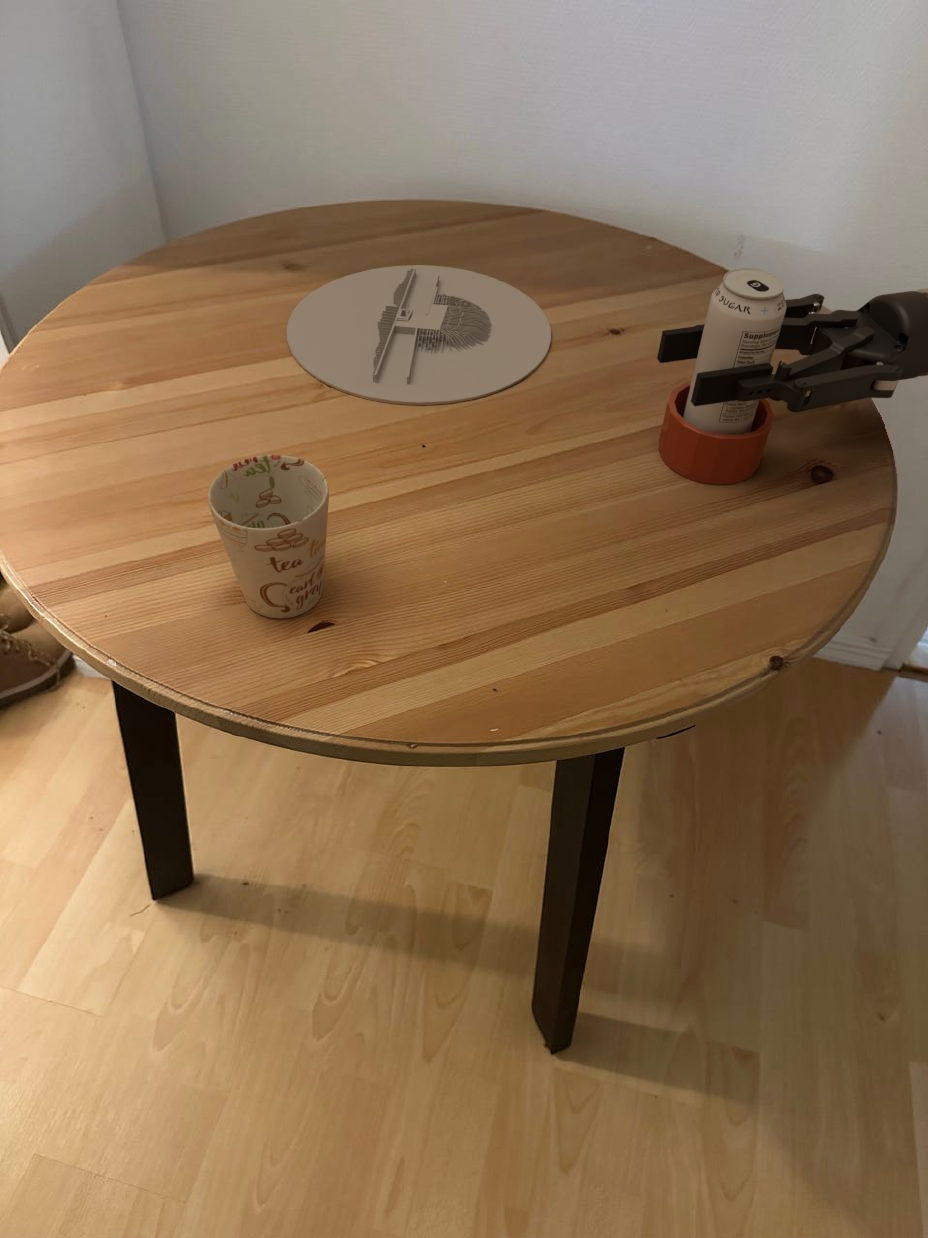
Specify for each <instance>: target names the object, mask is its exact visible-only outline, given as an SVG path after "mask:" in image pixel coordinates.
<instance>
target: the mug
mask: <svg viewBox="0 0 928 1238" xmlns="http://www.w3.org/2000/svg"><path fill="white" fill-rule="evenodd" d="M329 500H330V489H329V484H328V481H327V479H326V477H325V475H324V474H323V472H322V471H321V470H320V469H319V468H318V467H317V466H315V465H313V464H312V463H310V462H309V461H307V460H305V459H302V458H298V457H295V456H290V455H283V454H266V455H264V454H263V455H257V456H252V457H249V458H245V459H243V460H240V461H238V462H235V463H233V464H231V465H230V466H228V467H226V468H225V469H224V470H222V471H221V472H220V473H219V474H218V475H217V476H216V477H215V478H214V480H213V481H212V482H211V484H210V486H209V489H208V494H207V502H208V506H209V510H210V513H211V516H212V519H213V522H214V523H215V526H216V529H217V532H218V534H219V537H220V539H221V541H222V542H221V543H222V544H223V547H224V549H225V551H226V554H227V557H228V560H229V563H230V565H231V567H232V569H233V572H234V575H235V578H236V580H237V584H238V585H239V588H240V591H241V593H242V596H243V598H244V601H245V602H246V604H247V606H248V607H249V608H250V609H251V610H252V611H253V612H254V613H256V614H258V615H261V616H263V617H265V618H269V619H270V618H271V619H280V620H281V619H289V618H294V617H295V618H296V617H297V616H300V615H303V614H304V613H306V612H308V611H310V610H311V609H312V608H314V606H316V604H317V603H318V602H319V601H320V599H321V596H322V594H323V590H324V577H325V562H326V561H325V560H326V547H327V533H328V518H329V517H328V516H329V502H330V501H329Z"/></svg>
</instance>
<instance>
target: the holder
mask: <svg viewBox="0 0 928 1238" xmlns="http://www.w3.org/2000/svg"><path fill="white" fill-rule="evenodd" d="M691 382H692V380H690V381H687V382H683V383H682V384H680V385H679V386H678V387H676V388H674V389H673V390H672V391H671V393H670V395H669V397H668V400H667V403H666V407H665V412H664V417H663V421H662V426H661V430H660V434H659V440H658V452H659V455H660V458H661V459H662V461H663V462H664V464H665V465H666V466H667V467H668V468H669V469H671V470H672V471H673V472H674V473H676V474H678V475H680V476H681V477H684V478H686V479H688V480H691V481H694V482H696V483H701V484H706V485H717V486H721V485H726V486H727V485H733V484H737V483H740V482H743V481H745V480H747V479H749V478H751V477H752V476H753V475H754V474H755V473H756V472H757V471H758V469H759V467H760V463H761V460H762V457H763V454H764V451H765V448H766V445H767V441H768V438H769V435H770V432H771V430H772V425H773V423H774V418H775V412H774V410H773V407H772V405H771V403H770V402H769V401H768V400H767V398H765V399H760V400H759V403H758V406H757V410H756V413H755V417H754V420H753V423H752V427H751V430H750V432H749V433H745V434H742V435H721V434H716V433H712V432H708V431H704V430H701V429H699V428H697V427H696V426H694V425H692V424H690V423H688V422H687V421H686V420H685V419H684V418H683V416H684V412H685V407H686V403H687V399H688V394H689V390H690V386H691Z"/></svg>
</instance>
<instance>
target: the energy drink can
mask: <svg viewBox="0 0 928 1238" xmlns="http://www.w3.org/2000/svg"><path fill="white" fill-rule="evenodd" d="M785 286H786V285H785V282H784V281H783V280H782V278H780V277H779V276H778V275H777V274H774V273H772V272H770V271H767V270H764V269H760V268H755V267H754V268H753V267H739V268H734V269H731V270H729V271H727V272H726V273H725V274H724V275H723V279H722V282H721V283H720V284H719V285H718V286H717V287H716V289H714V291H712V294H711V296H710V300H709V305H708V309H707V312H706V313H707V314H706V318H705V321H704V324H705V326H704V330H703V334H702V339H701V343H700V347H699V351H698V356H697V358H696V361H695V365H694V369H693V373H692V378H691V381H692V382H691V381H690V382H691V386H690V390H689V394H688V399H687V403H686V407H685V412H684V416H683V418H684V419H685V420H686V421H687V422H688V423H690V424H692V425H694V426H696V427H697V428H699V429H701V430H704V431H708V432H712V433H716V434H721V435H742V434H745V433H749V432H750V430H751V427H752V423H753V420H754V417H755V413H756V410H757V406H758V403H759V400H760V399H758V400H757V399H756V400H751V401H738V400H735V401H728V402H722V403H715V404H708V405H702V406H694V405H693V404H692V403H691V398H692V394H693V389H694V385H695V381H696V377H697V373H701V372H708V371H715V370H722V369H729V368H736V367H743V366H750V365H757V364H764V363H770V364H771V362H772V359H773V356H774V352H775V350H776V349H775V346H776V342H777V339H778V336H779V332H780V329H781V326H782V322H783V319H784V316H785V312H786V309H787V307H786V301H785V300H786V297H785V294H784V291H785V288H786V287H785Z"/></svg>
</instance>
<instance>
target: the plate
mask: <svg viewBox="0 0 928 1238" xmlns="http://www.w3.org/2000/svg"><path fill="white" fill-rule="evenodd" d="M286 341H287V342H286V343H287V345H288V346H287V347H288V349H289V351H290V353H291V355H292V357H293V359H294V360H295V362H297V363H298V364H299V366H300V367H301V368H302V369H303V370H305V372H307V373H308V374H310V375H311V376H312V377H313V378H315V379H316V380H318V381H319V382H321V383H323V384H325V385H327V386H329V387H331V388H333V389H335V390H337V391H339V392H342V393H345V394H348V395H350V396H354V397H357V398H361V399H364V400H369V401H375V402H379V403H380V402H381V403H386V404H394V405H403V406H404V405H405V406H406V405H407V406H436V405H437V406H438V405H450V404H456V403H462V402H467V401H468V402H469V401H471V400H476V399H481V398H484V397H487V396H490V395H492V394H495V393H498V392H502V391H503V390H506V389H509V388H511V387H512V386H515V385H516V384H518V383H521V382H522V381H523V380H525V379H526V378H527V377H529V376H530V375H531V374H532V373H534V372H535V371H536V370H537V369H538V368H539V367H540V366H541V364H542V363H543V362H544V361H545V359H546V357H547V355H548V353H549V351H550V346H551V342H552V328H551V324H550V322H549V319H548V318H547V315H546V314H545V312H544V311H543V309H542V308H541V307H540V305H538V304H537V302H535V301H534V300H533V299H532V298H530V297H529V296H528V295H527V294H525V293H524V292H522V291H521V290H519V289H518V288H516V287H514V286H512V285H510V284H509V283H507V282H505V281H502V280H499V279H497V278H495V277H491V276H490V275H486V274H483V273H479V272H477V271H471V270H467V269H462V268H456V267H450V266H442V265H429V264H428V265H427V264H410V265H406V264H405V265H393V266H385V267H376V268H371V269H366V270H363V271H359V272H355V273H351V274H349V275H345V276H343V277H340V278H337V279H334V280H332V281H329V282H328V283H326V284H325V283H324V284H323V285H321V286H319V287H317V288H316V289H314V290H313V291H312V292H310V293H309V294H308V295H306V296H305V297H304V298H303V299H302V300H300V302H299V303H298V304H296V306H295V307H294V309H293V310H292V312H291V314H290V315H289V318H288V321H287V324H286Z"/></svg>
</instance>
